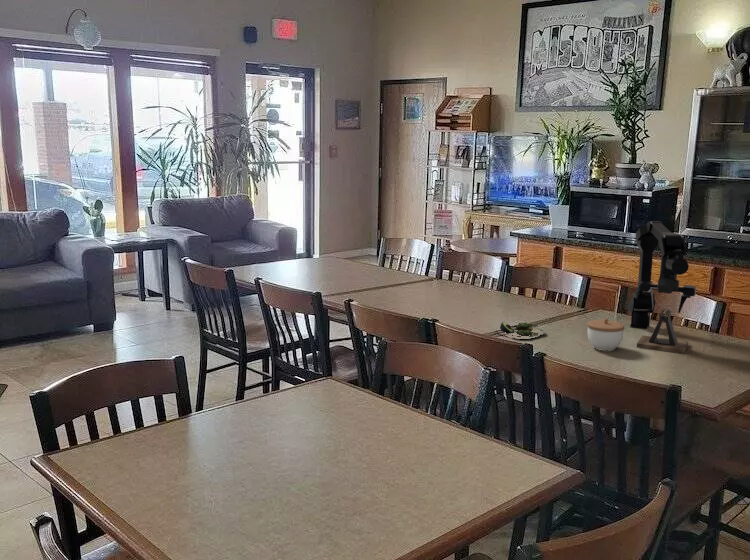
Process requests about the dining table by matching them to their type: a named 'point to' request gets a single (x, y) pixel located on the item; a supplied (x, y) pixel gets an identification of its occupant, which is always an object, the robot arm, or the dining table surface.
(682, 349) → the walnut board
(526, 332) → the salad plate
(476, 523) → the dining table surface
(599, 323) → the lidded bowl
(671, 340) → the gray triangular stand
